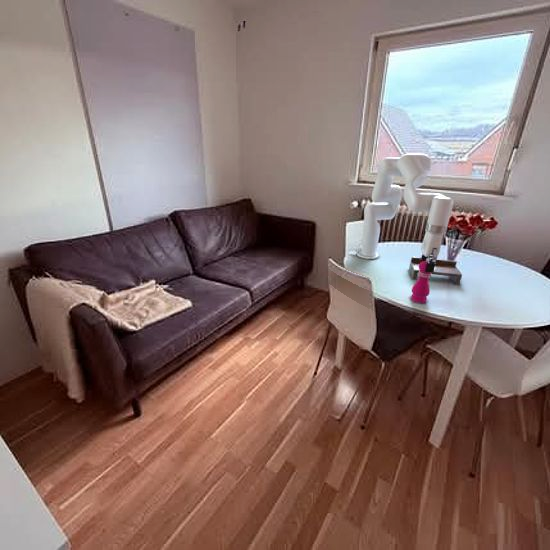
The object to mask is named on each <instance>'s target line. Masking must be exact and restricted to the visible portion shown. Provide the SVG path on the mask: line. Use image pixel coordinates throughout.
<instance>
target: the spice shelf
mask: <svg viewBox="0 0 550 550" xmlns="http://www.w3.org/2000/svg"><path fill="white" fill-rule="evenodd" d="M420 262H421V257H419V256H411V258H410V263H409V267H408V272H409V274H410V277H411V280H413V281H418V277H419V274H418V273H419V271H420V270H419V264H420ZM457 263H458V261H457V260H450V259H449V260H448V259H439V258H437V259H436V264H435V267H434V271H433V273H432V274H431V275H434V276H443V277H444V276H445V277H450V279H451V281H452V282H453V284H454V285H460V284H461V281H462V278H463V273H462V272H461V271H460V269H459V268H458V267H457Z"/></svg>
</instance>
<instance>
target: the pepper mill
mask: <svg viewBox="0 0 550 550" xmlns="http://www.w3.org/2000/svg"><path fill="white" fill-rule="evenodd" d="M431 259H432V258H430V260H431ZM426 263H428V258H427V259H426V261H423V262H421V263H420V264H419V270H420V271H419V273H418V278H417V280H416V282H415V283H414V284H413V286H412V288H411V297H410V299H411V300H412V301H413V302H414V303H417V304H425V303H426V302H427V299H428V296H429V295H430V291H431V290H430V284H429V280H430V278H431V277H432V275H433V274H432V273H430V272H425V267H426Z"/></svg>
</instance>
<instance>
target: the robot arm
mask: <svg viewBox="0 0 550 550" xmlns="http://www.w3.org/2000/svg"><path fill="white" fill-rule="evenodd" d="M377 164H378V165H377V173H376V179H375V183H374V185H373V189H372V193H371V200H372V202H370V203H368V204H366V205H364V208H363V228H362V234H361V240H360V241H361V242H360V246H358V247H352V250H351V251H354V252H356V255H357V256H358V257H359V258H362V259H365V260H375V259H378V258H379V257H380V256H379V253H378V252H377V250H378V245H379V240H380V233H381V225H380V223H379V221H390V220H393V219H394V217H395V216H396V214H397V212H398V210H399V209H398V208H399V207H400V204H401V201H402V198H403V200H404V202H405V204H406V206H407V208H408V209H409V210H410V211H412V212H414V213H428V218H427V221H426V226H425V228H424V229H425V230H424V231H425V234H424V237H423V240H422V243H421V246H420V247H421V248H420V251H421V257H420V258H421V262H423V261H426V259H427V258H428V263H426V267H425V272H430V273H433V271H434V267H435V264H436V259H438V257H439V256H440V255H439V254H440V252H441V247H442V242H443V238H444V235H446V233H447V231H448V227H449V222H450V218H451V215H452V211H453V206H454V204H455V203H454V199H453V198H452V197H448V196H445V195H444V194H442V193H439V192H438V193H437V192H436V193H435V192H417V190H416V189H418V188H420V187H422V186H423V185H424V184H425V183H426V181H427V179H428V174H427V173H428V172H429V171H430V170H431V167H432V159H431V157H430V156H429V155H428V154H425V153H406V154H403V155H401V156H400V157H383V158H381V159H380V160H379V162H378V163H377ZM394 176H395V177H403V179H404V181H405V185H404V188H402V187H401V186H400V185H397V184H393V183H394ZM430 259H431V260H430ZM421 262H420V263H421Z"/></svg>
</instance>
